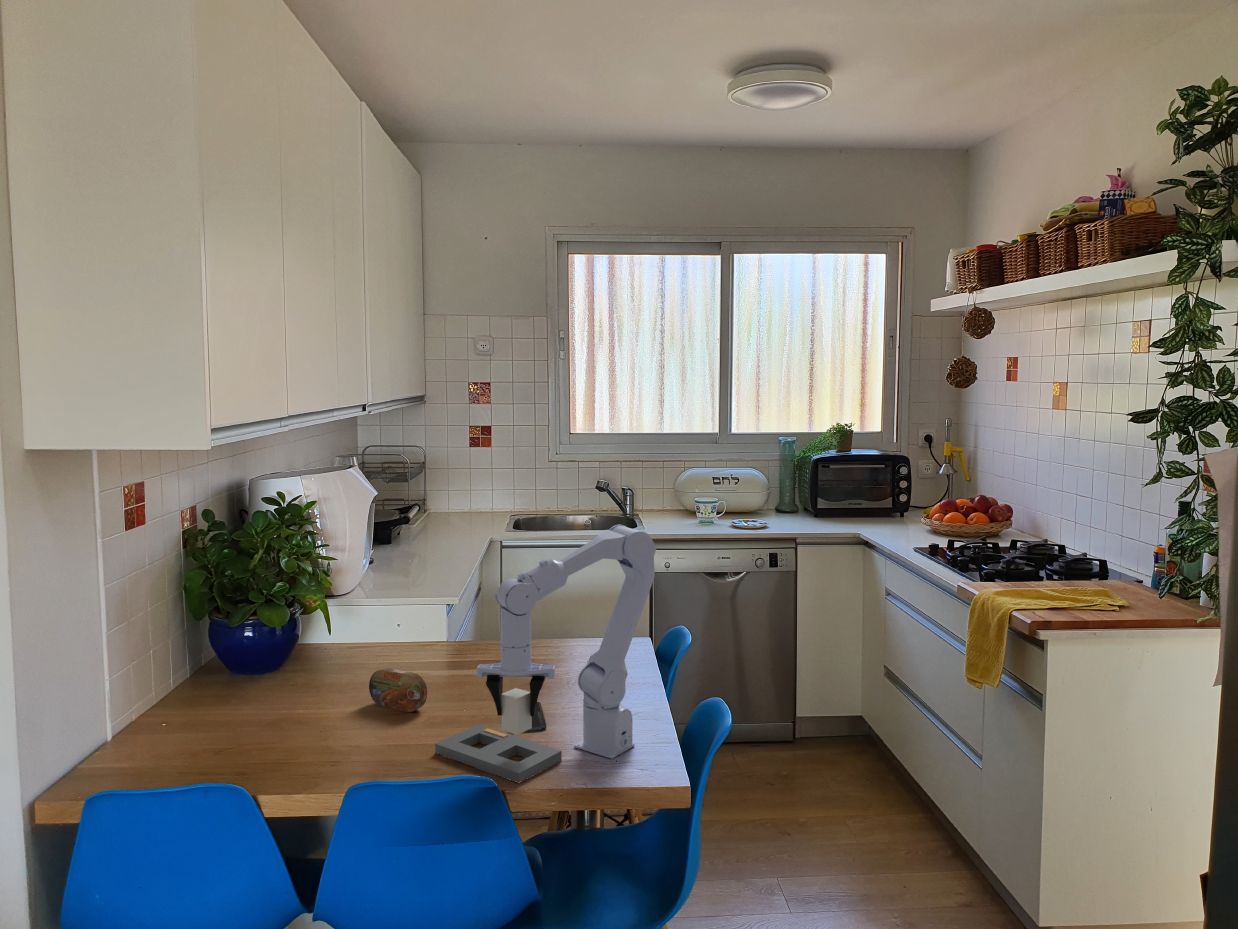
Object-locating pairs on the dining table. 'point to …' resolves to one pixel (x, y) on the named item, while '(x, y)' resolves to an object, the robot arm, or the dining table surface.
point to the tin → (398, 690)
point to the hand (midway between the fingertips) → (516, 714)
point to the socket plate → (498, 752)
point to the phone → (538, 719)
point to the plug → (516, 711)
